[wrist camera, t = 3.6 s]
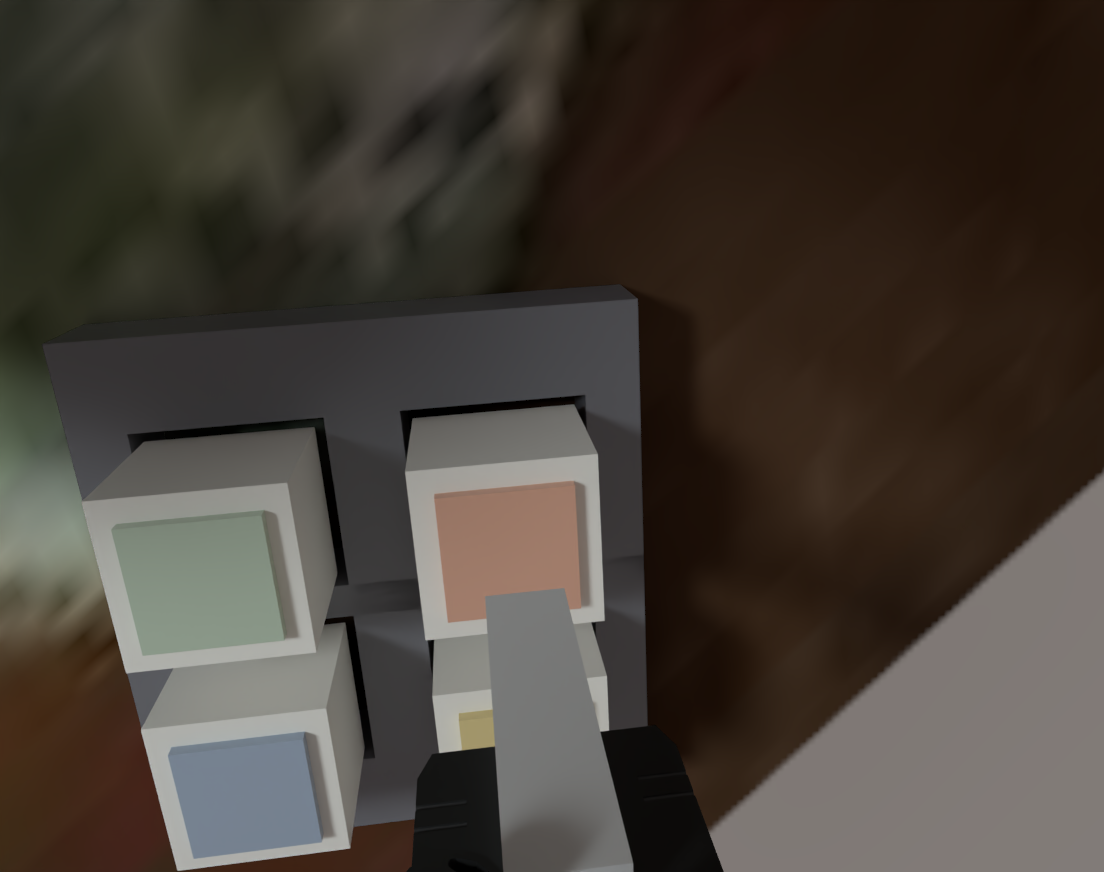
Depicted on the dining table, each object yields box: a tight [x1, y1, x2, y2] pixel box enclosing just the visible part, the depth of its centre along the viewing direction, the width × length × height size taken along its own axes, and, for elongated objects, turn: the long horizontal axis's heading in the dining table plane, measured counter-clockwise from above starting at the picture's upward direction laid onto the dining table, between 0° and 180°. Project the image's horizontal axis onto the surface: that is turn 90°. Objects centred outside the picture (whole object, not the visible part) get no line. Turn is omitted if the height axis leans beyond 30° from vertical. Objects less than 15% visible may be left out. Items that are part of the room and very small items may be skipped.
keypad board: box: [42, 284, 648, 827], centre depth 25 cm, size 16×15×2 cm
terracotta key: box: [405, 404, 605, 640], centre depth 22 cm, size 4×4×4 cm
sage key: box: [82, 427, 338, 673], centre depth 21 cm, size 4×4×4 cm
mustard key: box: [432, 622, 609, 753], centre depth 24 cm, size 4×4×4 cm
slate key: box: [141, 622, 365, 871], centre depth 23 cm, size 4×4×4 cm
